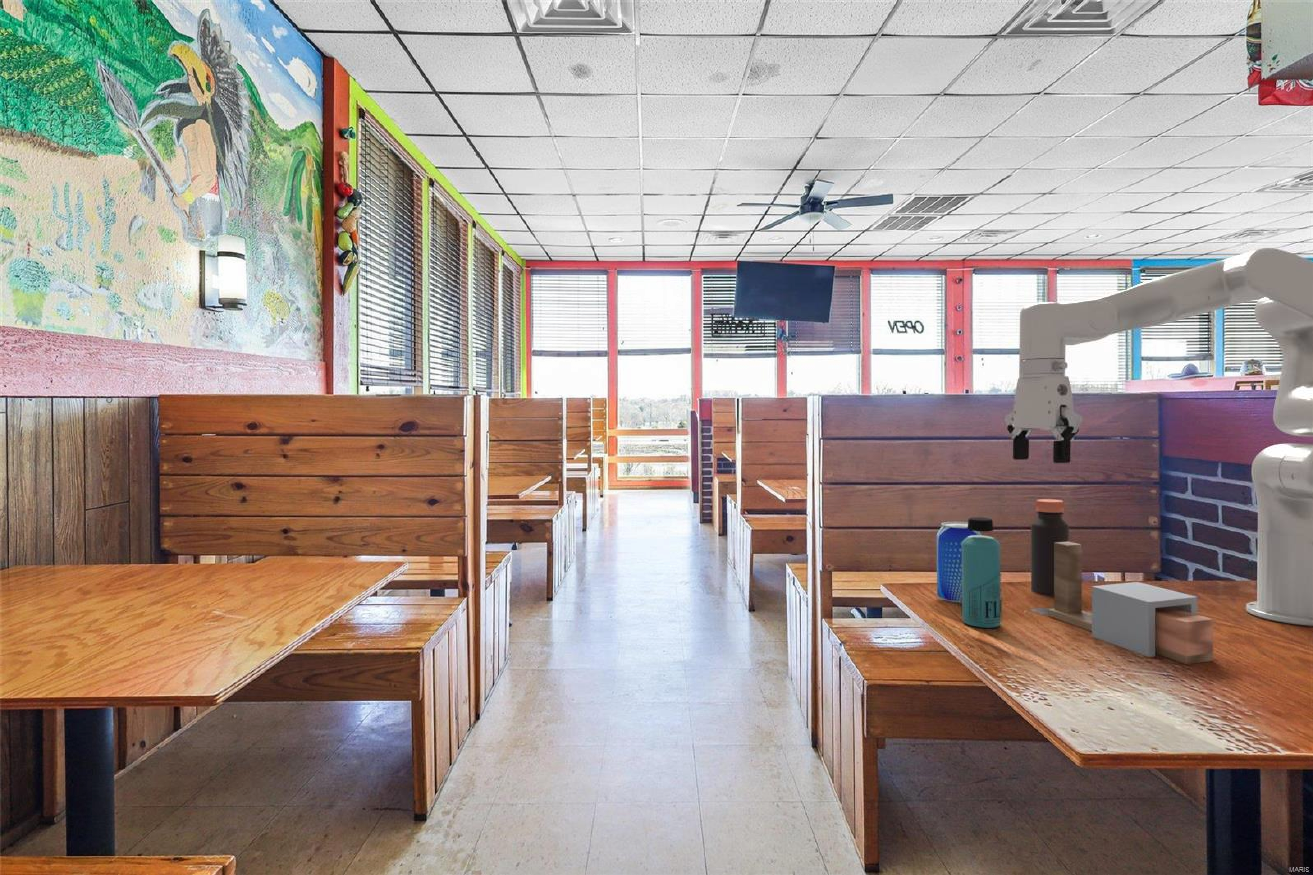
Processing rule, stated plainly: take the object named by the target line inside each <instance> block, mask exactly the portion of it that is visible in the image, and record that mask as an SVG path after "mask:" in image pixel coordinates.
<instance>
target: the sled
mask: <svg viewBox="0 0 1313 875" xmlns="http://www.w3.org/2000/svg"><path fill="white" fill-rule="evenodd" d="M1082 546H1083V545H1082V544H1081V543H1077V542H1072V541H1069V542H1055V543H1054V596H1053V605H1054V606H1053V607H1054V608H1052V609H1047V615H1046V616H1047V617H1051V618H1054V619H1056V620H1060V621H1062V622H1065V623H1067V624H1071V625H1074V626H1076V627H1080V628H1083V629H1085V630H1086V631H1091V632H1092V612H1088V611H1084V610H1082V609H1083V607H1082V606H1083V604H1082V602H1083V600H1082V598H1083V597H1082V596H1083V595H1082V594H1083V592H1082V591H1083V590H1082V589H1083V587H1082V586H1083V584H1082V582H1083V580H1082V578H1083V576H1082V575H1083V574H1082V572H1083V571H1082V569H1083V568H1082V567H1083V566H1082V564H1083V561H1082V560H1083V558H1082V556H1083V551H1082V550H1083V547H1082ZM1155 655H1158V656H1162V657H1165V658H1168V659H1169V660H1173V661H1175V662H1178V663H1181V664H1185V665H1191V664H1198V663H1205V662H1213V661H1214V618H1211V617H1207V616H1204V615H1199V614H1197V615H1196V614H1193V613H1189V612H1185V611H1182V610H1178V609H1175V608H1171V607H1160V608H1155Z"/></svg>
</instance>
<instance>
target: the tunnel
mask: <svg viewBox="0 0 1313 875" xmlns="http://www.w3.org/2000/svg"><path fill="white" fill-rule="evenodd" d="M1198 601H1199V600H1198V596H1195V595H1190V594H1187V593H1183V592H1179V591H1176V590H1171V589H1167V588H1163V587H1160V586H1155V585H1151V584H1147V583H1144V582H1140V581H1132V582H1123V583H1113V584H1112V583H1111V584H1102V585H1101V584H1100V585H1095V586H1094V585H1093V586H1091V614H1092V631H1091V638H1095V639H1098V640H1100V641H1103V642H1107V643H1109V644H1112V645H1114V646H1118V647H1120V648H1123V649H1125V650H1129V651H1130V652H1134V653H1136V654H1139V655H1142V656H1145V657H1148V658H1150V657H1155V656H1156V653H1155V608H1160V607H1171V608H1175V609H1178V610H1182V611H1185V612H1189V613H1193V614H1196V615H1198V609H1199V608H1198V606H1199V605H1198Z"/></svg>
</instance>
